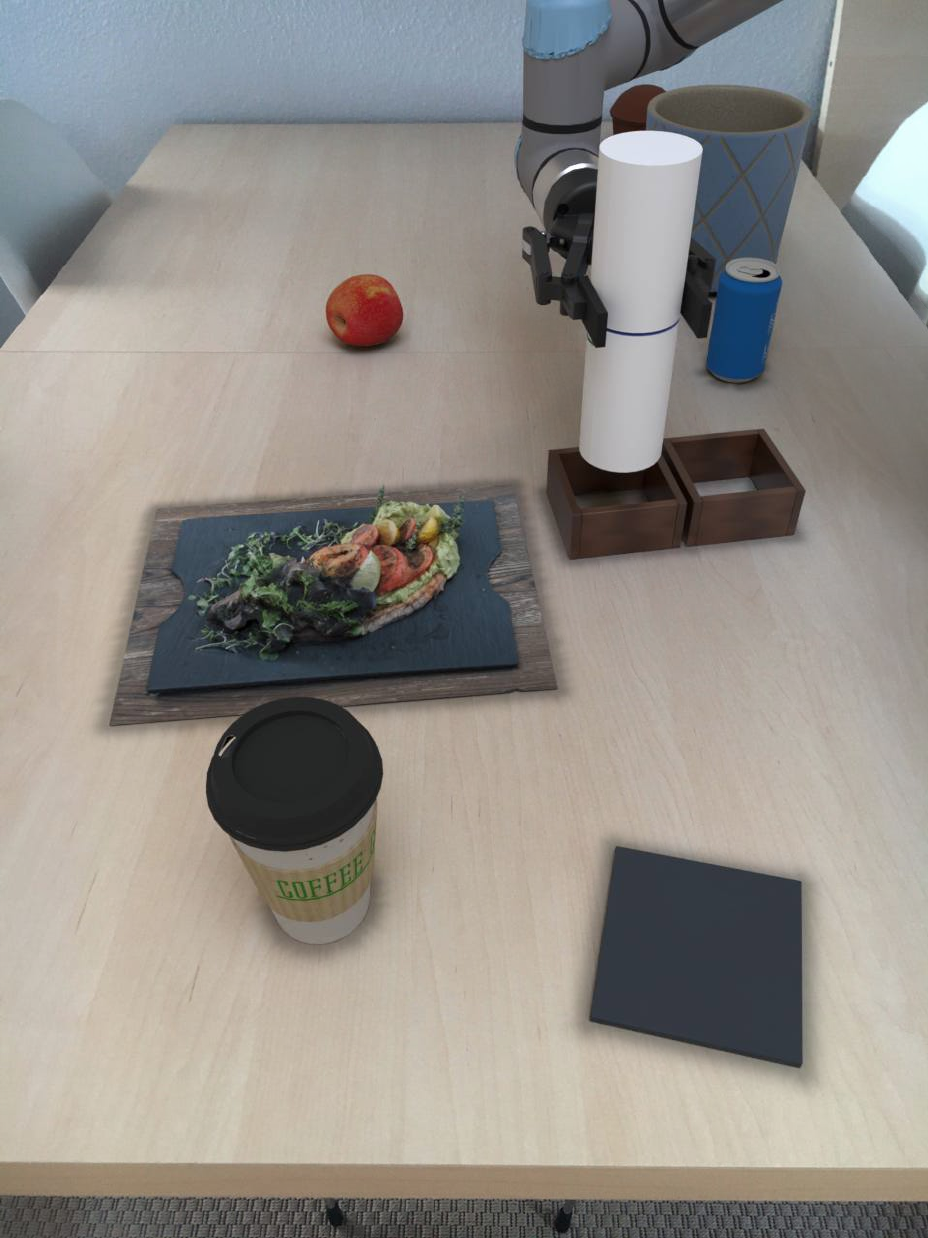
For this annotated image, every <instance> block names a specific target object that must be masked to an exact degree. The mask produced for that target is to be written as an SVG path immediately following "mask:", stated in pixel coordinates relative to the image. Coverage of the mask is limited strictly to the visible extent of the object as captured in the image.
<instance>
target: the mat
mask: <svg viewBox="0 0 928 1238" xmlns="http://www.w3.org/2000/svg"><path fill="white" fill-rule="evenodd" d="M802 884H803V883H802V880H798V879H792V878H787V877H781V876H776V875H772V874H767V873H760V872H756V871H750V870H746V869H741V868H735V867H729V866H725V865H719V864H714V863H708V862H704V861H698V860H692V859H687V858H682V857H678V856H671V855H666V854H661V853H655V852H650V851H645V850H640V849H634V848H630V847H625V846H619V845H616V846H615V850H614V857H613V864H612V869H611V877H610V882H609V889H608V890H609V891H608V896H607V903H606V910H605V915H604V916H605V917H604V922H603V929H602V934H601V935H602V936H601V942H600V949H599V955H598V962H597V968H596V969H597V970H596V974H595V982H594V989H593V993H592V994H593V995H592V1001H591V1006H590V1015H589V1021H590V1022H593V1023H597V1024H602V1025H607V1026H611V1027H616V1028H619V1029H623V1030H624V1029H625V1030H630V1031H634V1032H637V1033H642V1034H647V1035H651V1036H656V1037H661V1038H664V1039H669V1040H674V1041H678V1042H683V1043H686V1044H687V1043H688V1044H692V1045H696V1046H700V1047H705V1048H709V1049H713V1050H718V1051H723V1052H727V1053H731V1054H736V1055H741V1056H745V1057H750V1058H754V1059H759V1060H763V1061H767V1062H772V1063H777V1064H781V1065H785V1066H789V1067H795V1068H798V1069H800V1068H801V1067H802V1066H803V1062H804V1060H803V1059H804V1058H803V1054H804V1053H803V1050H804V1049H803V1047H804V1046H803V1045H804V1044H803V899H802V897H803V896H802V895H803V894H802V893H803V892H802V891H803V889H802V887H803V885H802Z"/></svg>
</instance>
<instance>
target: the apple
mask: <svg viewBox="0 0 928 1238" xmlns="http://www.w3.org/2000/svg"><path fill="white" fill-rule="evenodd" d="M325 318H326V319H325V320H326V322H327V325H328V327H329V329H330V330H331V332H332V333H333V335H334V336H335V337H336V338H337V339H339V341H340V342H342V343H344V344H346V345H347V346H351V347H371V346H374V345H377V346H378V345H380V344H382V343H384V342H385V343H386V342H387V341H388V340H390V339H392V337H393V336H394V335H395V334H397V333H398V331H399V330H400V329H401V327H402V324H403V321H404V307H403V305H402V302H401V299H400V298H399V295H398V293H397V291H396V289H395V288H394V286H393V285H392V284H391V282H390V281H388V279H386V278H384V277H382V276H380V275H378V274H372V273H364V274H357V275H354V276H351V277H349V278H346V279H345V280H343V281H341V282H340V283H338V285H337V286H336V287H335V288H333V290H332V291H331V292H330V294H329V296H328V298H327V301H326V304H325Z"/></svg>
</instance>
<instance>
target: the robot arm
mask: <svg viewBox="0 0 928 1238" xmlns="http://www.w3.org/2000/svg"><path fill="white" fill-rule="evenodd" d="M783 1H784V0H525V15H524V27H523V29H524V30H523V35H522V38H521V44H522V49H523V52H522V53H523V56H522V57H523V59H522V60H523V61H522V64H523V66H522V73H523V74H522V120H521V134H520V135H519V137H518V139H517V141H516V144H515V148H514V154H513V162H514V168H515V175H516V178H517V181H519V186H520V189H522V192H523V193H524V194H525V196H526V197H527V199H528V200H529V202H530V204H531V206H532V208H533V210H534V211H535V213H536V215H537V216H538V218H539V220H540V222H541V224H542V226H543V228H544V230H539V229H538V228H537V227H534V226H532V225H528V226H524V227H523V228H522V234H521V235H522V238H521V239H522V240H521V242H522V243H521V258H522V259H523V260H524V261H525V262H526V263H527V264H528V265H529V266H530V272H531V279H532V286H533V291H534V299H535V303H536V304H537V305H539V306H548V305H550V304H552V301H558V302H559V315H561V316H562V317H569V318H570V319H571V320H573V321H578V320H581V322H582V324H583V326H584V328H585V330H586V333H587V332H588V334H589V336H590V338H591V340H592V342H593V344H594V346H595V348H602V347H605V345H606V333H607V321H608V312H607V310H606V308H605V306H604V305H603V303H602V301H601V299H600V297H599V296H598V294H597V292H596V290H595V288H594V286H593V285H592V283H591V278H590V277H589V275H588V274H587V272H588V269H589V266H592V251H593V236H594V221H595V206H596V191H597V176H598V161H599V146H600V144H601V135H602V124H603V123H602V122H603V110H604V109H603V108H604V100H605V99H604V98H605V92H606V91H608V90H611V89H614V88H616V87H619V86H622V85H624V84H628V83H630V82H632V81H634V80H637V79H639V78H642V77H645V76H647V75H651V74H653V73H656V72H662V71H666V70H668V69H670V68H672V67H675V66H676V65H679V64H680V63H682V62H683V61H684V60H686V59H688V58H689V57H691V56H692V55H693V54H694V53H695V52H696V51H697V49H699V48H701V47H702V46H705V45H706V44H707V43H710V42H711V41H713V40H714V39H716V38H718V37H720V36H722V35H724V34H726V33H727V32H729V31H731V30H733V29H735V28H736V27H739V26H740V25H742V24H743V23H745V22H747V21H749V20H751V19H752V18H754V17H756V16H758V15H760V14H761V13H763V12H765V11H767V10H769V9H771V8H772V7H774V6H776V5H777V4H780V3H781V2H783ZM550 249H551V250H552V251H553V252H554V253H557V254H558V255H559V256H560V257H561V258H562V259H564V260H565V263H564V265H563V268H562V271H561V274H560V276H555V275H553V270H552V264H551V258H550V255H549V253H550V251H551V250H550ZM715 265H716V259H715V258H714V257H713V256H712V255H711V254H710V253H709V252H708V251H707V250H705V249H704V248H703V247H702V246H701V245H700V244H699V243H698V242H696V241H695V240H694V239H693V238H692V237H691V239H690V246H689V253H688V261H687V268H686V275H685V283H684V290H683V297H682V305H681V312H680V316H682V318H683V319H684V321H685V322H686V324H687V325H688V327H689V328H690V330H691V331H692V333H693V335H694V336H695V337H696V339H697V340H698V339H699V340H700V339H707V338H708V334H709V329H710V322H711V317H712V309H713V302H712V301H711V300H710V298H709V293H710V292H709V291H711V290H712V284H713V278H714V272H715Z"/></svg>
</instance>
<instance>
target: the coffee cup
mask: <svg viewBox="0 0 928 1238" xmlns="http://www.w3.org/2000/svg"><path fill="white" fill-rule="evenodd" d="M230 741H231V742H230ZM229 742H230V743H229ZM224 748H225V749H224ZM223 749H224V750H223ZM222 751H223V752H222ZM221 752H222V754H221ZM220 754H221V755H220ZM205 778H206V780H205V797H206V802H207V807H208V810H209V811H210V813H211V816H212V818H213V820H214V821H215V822H216V824H217V825H218V826H219V827H220V829H221V830H222V831H223V832H224V833H226V834H227V835H228V837H229V839H230V841H231V843H232V846H233V848H234V850H235V851H236V852H237V854H238V857H239V858H240V860H241V861H242V863H243V866H244V867H245V869H246V871H247V872H248V874H249V877H251V880H252V881H253V885H254V886H255V887H256V889H257V891H258V893H259V894H260V896H261V898H262V900H263V902H265V904H266V905H267V906H268V908H269V909H270V910H271V912H272V914H273V916H274V917H275V919H276V921H277V923H278V925H279V927H280V929H282V931H283V932H284V933H285V934H287V935H288V936H289V937H290V938H292V939H294V940H296V941H298V942H301V943H304V944H308V945H326V944H330V943H333V942H336V941H339V940H341V939H343V938H345V937H347V936H348V935H350V934H351V933H353V932H354V931H355V930H356V929H357V928H358V926H360V924H361V923H362V922H363V921H364V919H365V917H366V915H367V912H368V910H369V906H370V900H371V885H372V884H371V883H372V879H373V875H374V867H375V854H376V853H375V852H376V836H377V835H376V834H377V819H378V818H377V817H378V796H379V793H380V791H381V789H382V784H383V778H384V765H383V758H382V755H381V753H380V749H379V746H378V745H377V743H376V740H375V738H373V735H372V734H371V733H370V731H369V730H368V729H367V728H366V727H365V726H364V725H363V724H362V723H361V722H360V721H359V720H358V719H357V718H356V717H355V716H354V715H353V714H352V713H351V712H350V711H349V710H347V709H345V708H344V707H343V706H339V705H337V704H334V703H332V702H329V701H327V700H323V699H318V698H313V697H291V698H282V699H278V700H274V701H270V702H267V703H265V704H262V705H260V706H257V707H255V708H254V709H252V710H250V711H248V712H247V713H245V714H241V715H240V716H239V717H238V718H237V719H236V720H234V721H233V722H232V723H231V724H230V725H229V727H228V728H227V729H226V730H225V731H224V732H223V733H222V735H221V737H220V738H219V741H218V742H217V744H216V746H215V749H214V753H213V755H212V757H211V759H210V762H209V765H208V769H207V772H206V777H205Z"/></svg>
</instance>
